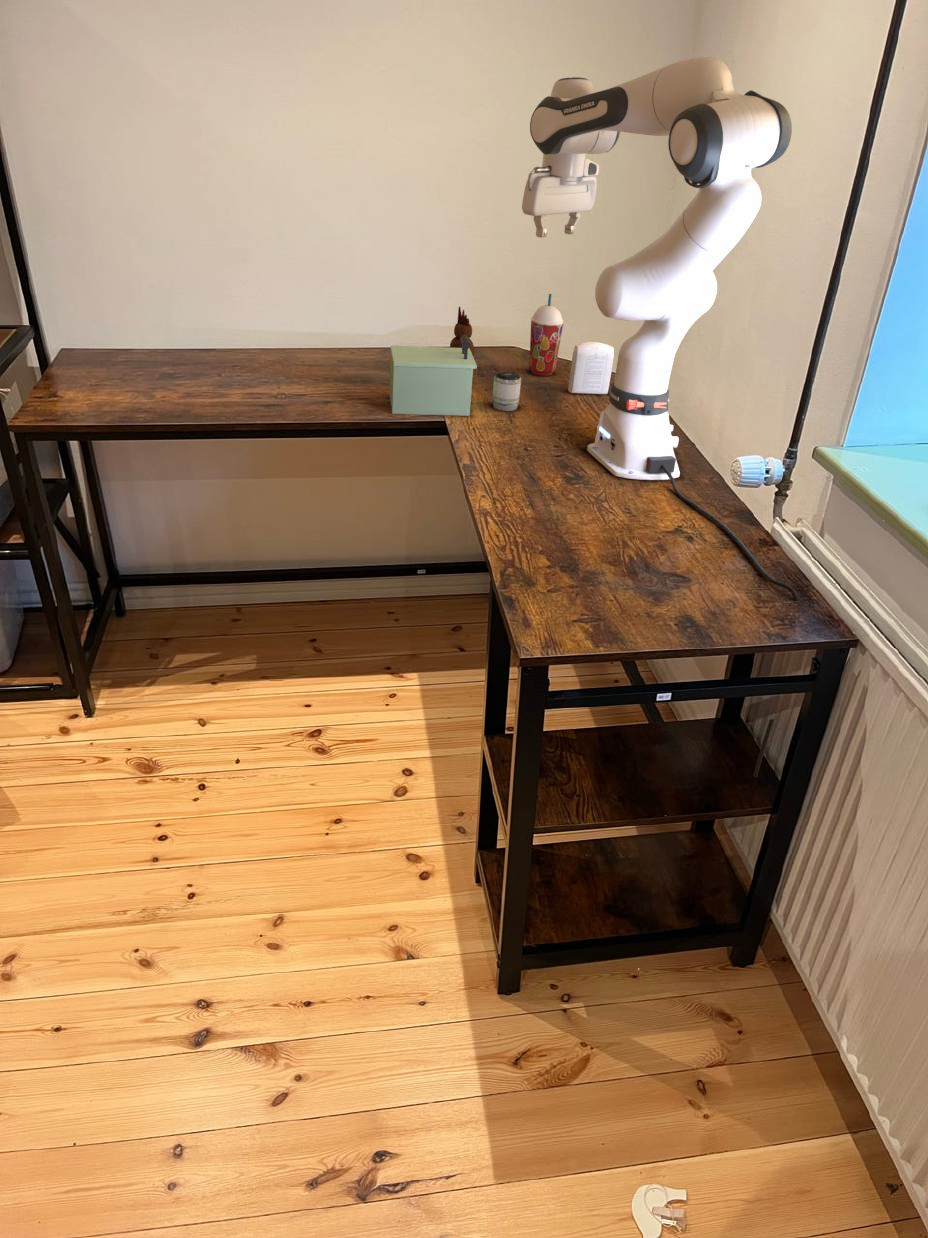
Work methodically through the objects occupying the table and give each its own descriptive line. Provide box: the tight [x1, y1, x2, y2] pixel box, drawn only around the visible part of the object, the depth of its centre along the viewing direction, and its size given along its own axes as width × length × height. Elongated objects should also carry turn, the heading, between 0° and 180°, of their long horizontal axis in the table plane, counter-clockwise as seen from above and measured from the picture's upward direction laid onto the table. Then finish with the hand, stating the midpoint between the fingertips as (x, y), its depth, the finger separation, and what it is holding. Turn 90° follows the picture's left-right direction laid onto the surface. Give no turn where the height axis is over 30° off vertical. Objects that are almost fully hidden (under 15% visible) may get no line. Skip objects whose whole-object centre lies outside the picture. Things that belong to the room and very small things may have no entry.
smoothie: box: [528, 293, 565, 377], centre depth 246 cm, size 8×8×20 cm
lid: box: [390, 335, 478, 370], centre depth 216 cm, size 18×14×5 cm
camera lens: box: [491, 371, 522, 412], centre depth 224 cm, size 6×6×8 cm
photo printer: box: [567, 341, 615, 395], centre depth 237 cm, size 10×4×12 cm, turn 98°
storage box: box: [388, 351, 474, 417], centre depth 220 cm, size 18×14×11 cm
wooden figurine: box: [449, 306, 475, 359], centre depth 247 cm, size 7×6×15 cm
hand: (555, 235), depth 209 cm, fingers open, 8 cm apart
